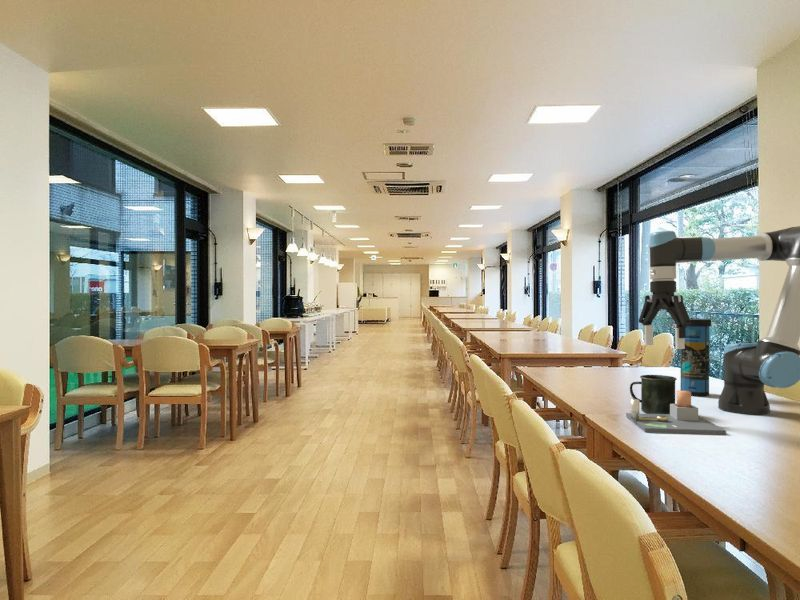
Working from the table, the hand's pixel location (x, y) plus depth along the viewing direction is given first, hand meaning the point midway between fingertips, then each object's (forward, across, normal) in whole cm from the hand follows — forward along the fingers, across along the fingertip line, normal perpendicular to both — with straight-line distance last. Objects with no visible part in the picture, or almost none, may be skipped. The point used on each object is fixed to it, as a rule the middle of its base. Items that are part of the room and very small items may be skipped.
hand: (663, 347), depth 175 cm
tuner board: (+23, +7, -3) cm, 24 cm away
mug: (+24, -11, +4) cm, 26 cm away
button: (+19, +4, +4) cm, 20 cm away
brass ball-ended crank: (+22, +4, -9) cm, 24 cm away
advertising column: (+24, -34, +44) cm, 60 cm away
